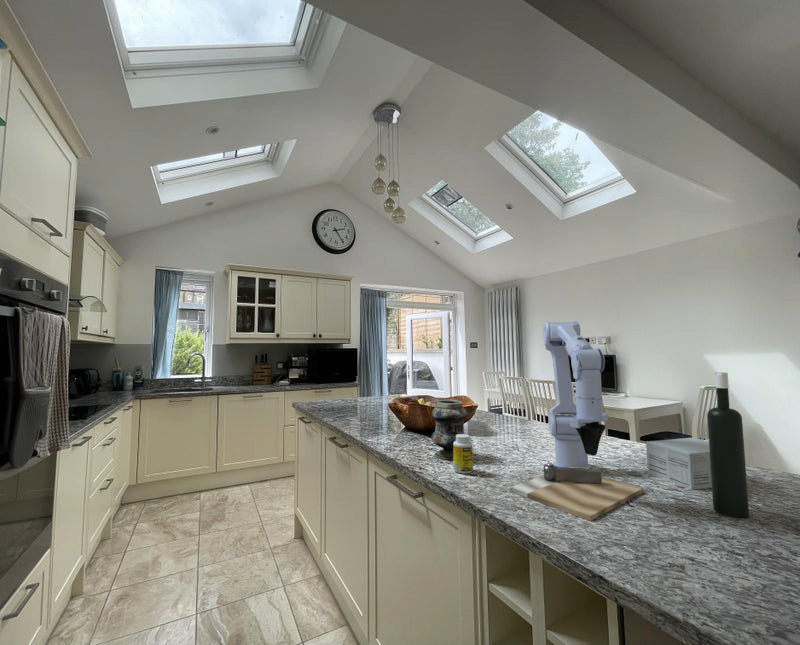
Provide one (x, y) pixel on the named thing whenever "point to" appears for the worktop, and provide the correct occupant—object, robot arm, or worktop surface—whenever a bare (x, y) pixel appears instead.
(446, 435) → the dark grey vase
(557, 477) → the swing bar
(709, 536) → the worktop surface
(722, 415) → the wine bottle
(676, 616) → the worktop surface
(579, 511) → the door board
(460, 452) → the supplement bottle
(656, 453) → the supplement box
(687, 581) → the worktop surface
